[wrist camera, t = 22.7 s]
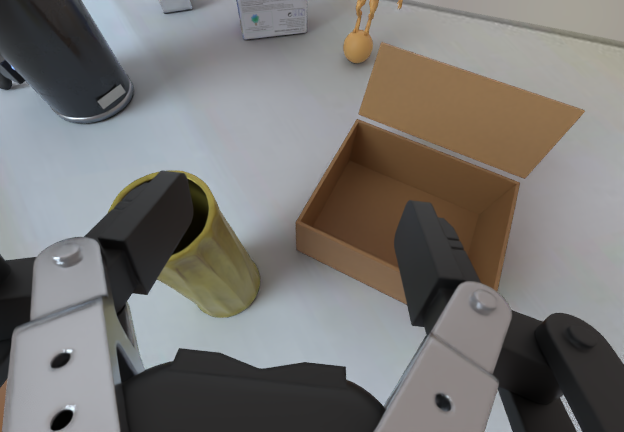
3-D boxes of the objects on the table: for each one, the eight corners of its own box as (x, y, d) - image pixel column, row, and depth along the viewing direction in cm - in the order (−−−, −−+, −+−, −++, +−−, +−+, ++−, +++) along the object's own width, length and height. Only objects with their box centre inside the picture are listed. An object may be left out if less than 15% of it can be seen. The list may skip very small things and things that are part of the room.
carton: (296, 249, 29) (295, 222, 23) (347, 159, 34) (356, 118, 28) (450, 326, 26) (492, 316, 20) (480, 214, 31) (520, 182, 26)
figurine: (323, 61, 42) (331, -44, 31) (336, 37, 44) (347, -67, 33) (380, 76, 40) (409, -27, 30) (389, 50, 43) (419, -53, 32)
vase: (227, 333, 25) (151, 303, 12) (178, 289, 27) (66, 222, 14) (273, 277, 27) (250, 204, 15) (226, 240, 29) (168, 144, 16)
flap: (381, 42, 23) (382, 42, 24) (358, 114, 28) (359, 113, 28) (585, 111, 21) (584, 110, 21) (524, 179, 25) (524, 177, 25)
